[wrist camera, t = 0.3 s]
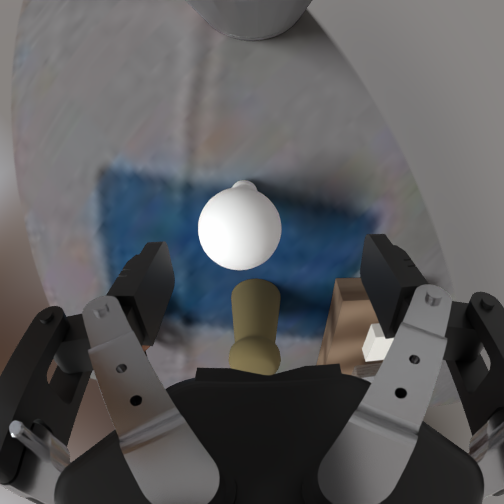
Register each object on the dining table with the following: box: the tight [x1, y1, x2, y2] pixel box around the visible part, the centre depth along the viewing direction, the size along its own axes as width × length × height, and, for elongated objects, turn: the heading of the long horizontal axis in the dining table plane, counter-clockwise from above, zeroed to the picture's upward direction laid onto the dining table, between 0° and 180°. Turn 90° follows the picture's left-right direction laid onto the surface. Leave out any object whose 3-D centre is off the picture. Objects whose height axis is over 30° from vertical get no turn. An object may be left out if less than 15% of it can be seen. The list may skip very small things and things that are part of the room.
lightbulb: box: [198, 180, 281, 270], centre depth 24 cm, size 6×6×11 cm
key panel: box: [317, 278, 383, 375], centre depth 39 cm, size 24×11×4 cm, turn 1°
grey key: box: [351, 363, 382, 383], centre depth 35 cm, size 4×4×2 cm
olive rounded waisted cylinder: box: [229, 279, 281, 375], centre depth 32 cm, size 6×6×11 cm
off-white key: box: [362, 323, 394, 362], centre depth 31 cm, size 4×4×2 cm
